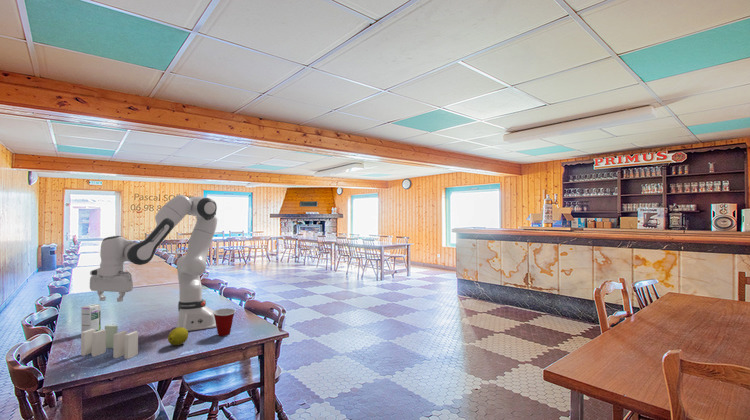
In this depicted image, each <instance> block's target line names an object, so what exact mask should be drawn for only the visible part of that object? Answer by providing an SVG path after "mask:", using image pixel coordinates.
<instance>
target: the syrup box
mask: <svg viewBox="0 0 750 420" xmlns="http://www.w3.org/2000/svg"><path fill="white" fill-rule="evenodd" d="M80 310H81V319H80V320H81V323H80V324H81V330H80V331H81V332H84V331H87V330H90V329H95V332H96V331H99V330H102V327H101V326H102V325H101V318H102V317H101V314H102V313H101V311H102V310H101V304H98V303H91V304H89V305H84V306H81V309H80Z"/></svg>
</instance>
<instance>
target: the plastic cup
mask: <svg viewBox="0 0 750 420" xmlns="http://www.w3.org/2000/svg"><path fill="white" fill-rule="evenodd" d="M235 313H236V309H234V308H226V307H225V308H218V309H216V310H213V314H214V316H215V322H216V327H215V328H216V330H217V331H216V333H217V335H218V336H220V337H225V336H229V335H230V334H231V330H232V325H233V320H234V315H235Z"/></svg>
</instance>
